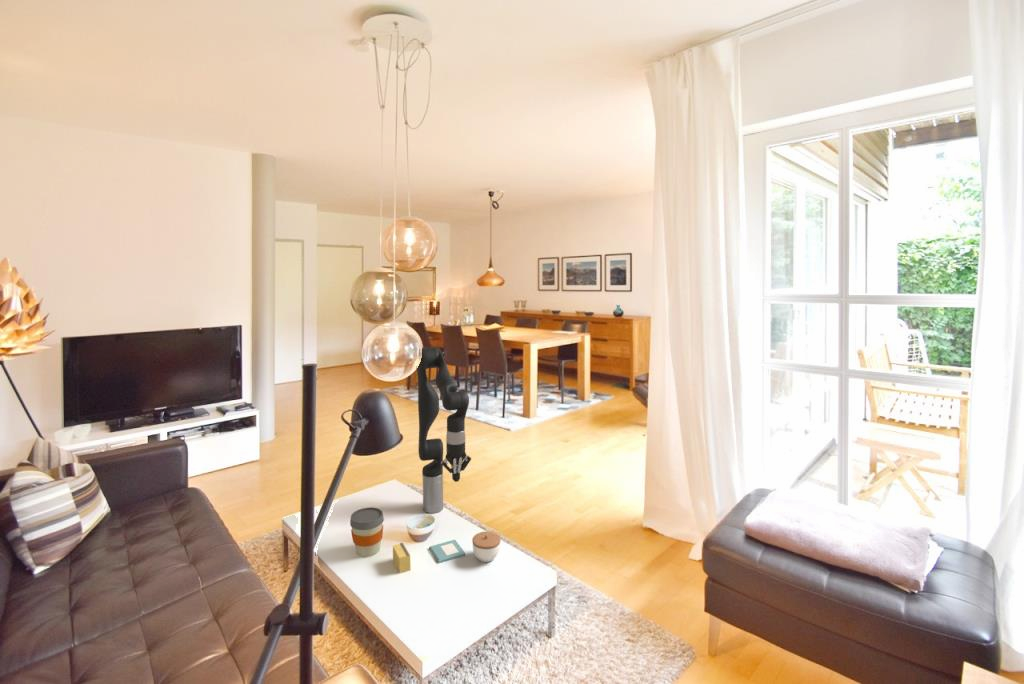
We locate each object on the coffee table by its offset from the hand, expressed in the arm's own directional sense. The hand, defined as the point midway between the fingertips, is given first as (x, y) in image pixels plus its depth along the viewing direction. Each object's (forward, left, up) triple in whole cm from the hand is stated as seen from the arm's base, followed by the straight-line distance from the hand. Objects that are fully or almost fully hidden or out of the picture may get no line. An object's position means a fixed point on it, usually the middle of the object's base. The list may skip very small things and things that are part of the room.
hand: (456, 480), depth 198 cm
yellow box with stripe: (+8, -26, -25) cm, 36 cm away
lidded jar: (+19, +5, -25) cm, 31 cm away
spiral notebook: (+8, -7, -25) cm, 27 cm away
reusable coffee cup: (-7, -34, -25) cm, 43 cm away
